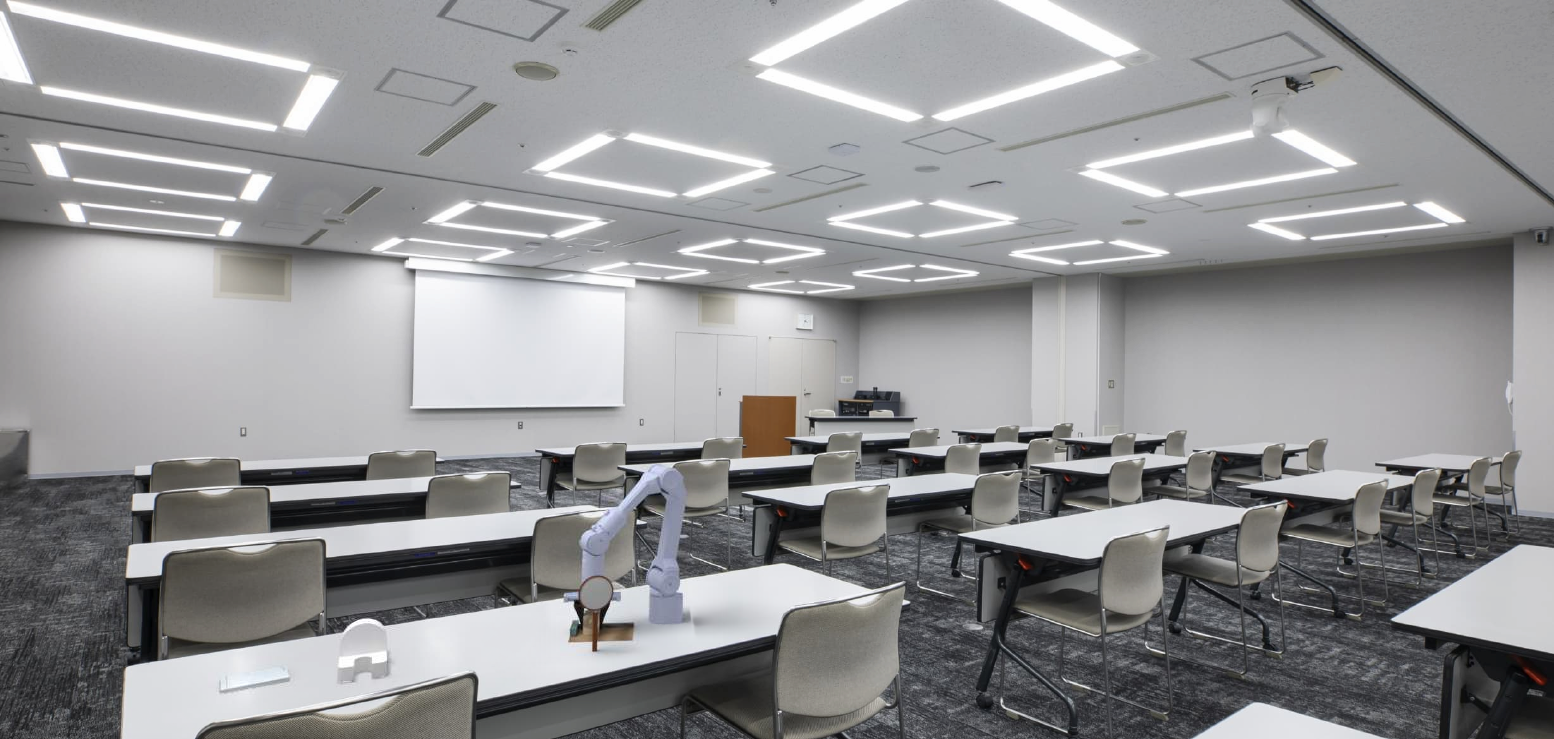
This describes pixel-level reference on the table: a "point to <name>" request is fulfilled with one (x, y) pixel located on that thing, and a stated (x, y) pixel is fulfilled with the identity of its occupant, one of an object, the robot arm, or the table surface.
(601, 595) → the magnifying glass
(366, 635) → the white slotted bracket
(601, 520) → the robot arm
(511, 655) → the table surface
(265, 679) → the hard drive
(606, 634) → the board
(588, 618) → the beige block with rod
